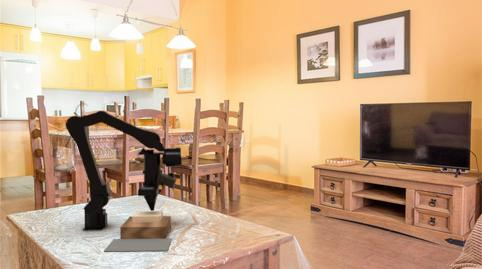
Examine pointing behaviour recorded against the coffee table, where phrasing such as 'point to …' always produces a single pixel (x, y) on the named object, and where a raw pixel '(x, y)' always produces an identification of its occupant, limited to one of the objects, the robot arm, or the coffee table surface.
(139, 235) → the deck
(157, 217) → the cream rectangular block
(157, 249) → the mat
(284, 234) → the coffee table surface
